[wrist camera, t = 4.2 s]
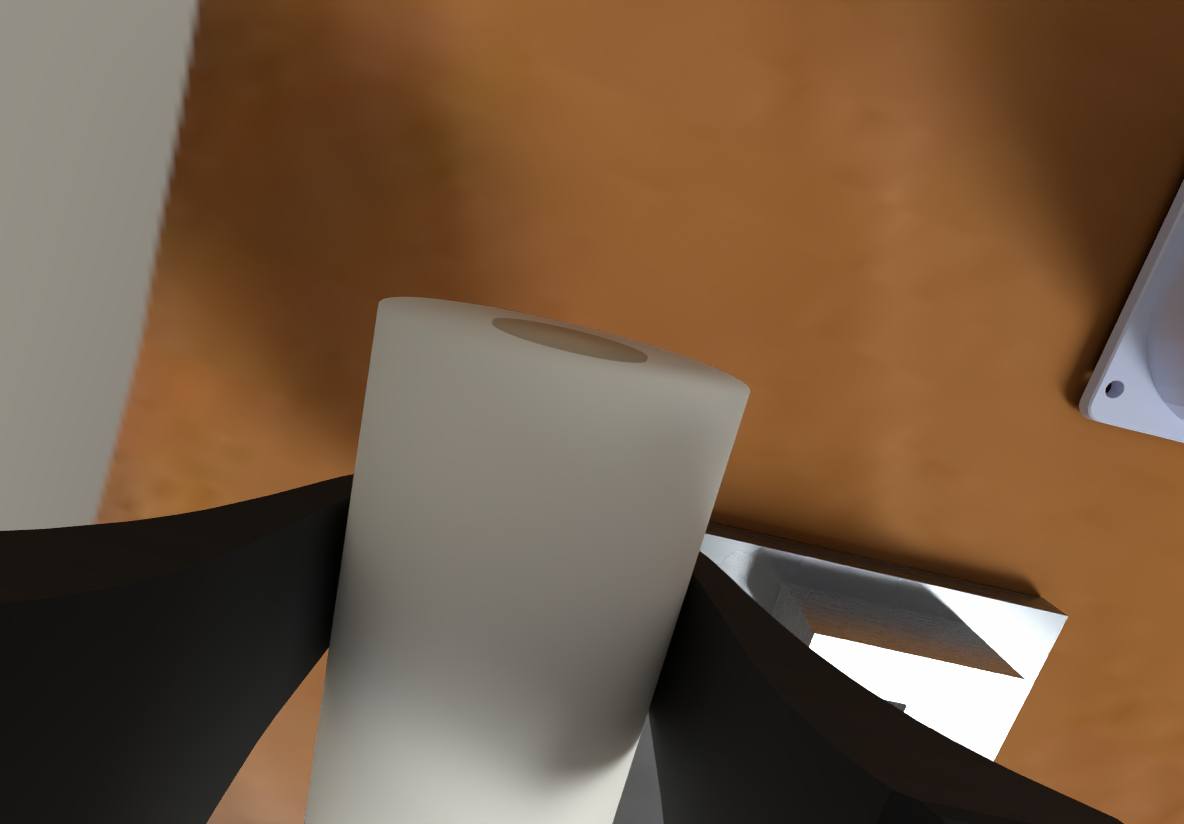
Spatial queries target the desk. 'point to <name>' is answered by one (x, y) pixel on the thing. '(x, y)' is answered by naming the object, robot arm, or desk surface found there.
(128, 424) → the desk surface
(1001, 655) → the roll cradle
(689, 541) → the paper roll
